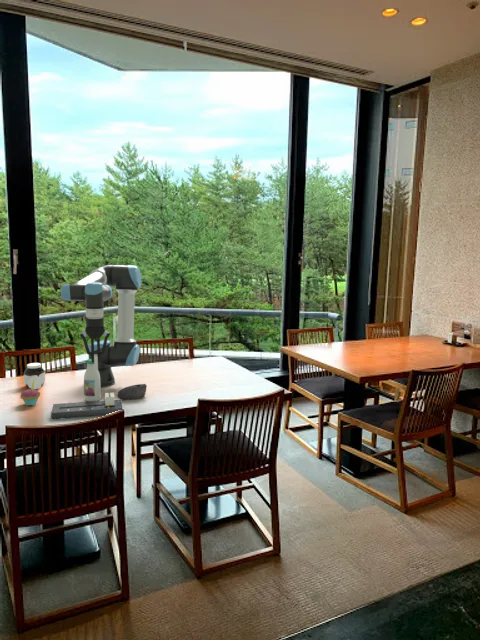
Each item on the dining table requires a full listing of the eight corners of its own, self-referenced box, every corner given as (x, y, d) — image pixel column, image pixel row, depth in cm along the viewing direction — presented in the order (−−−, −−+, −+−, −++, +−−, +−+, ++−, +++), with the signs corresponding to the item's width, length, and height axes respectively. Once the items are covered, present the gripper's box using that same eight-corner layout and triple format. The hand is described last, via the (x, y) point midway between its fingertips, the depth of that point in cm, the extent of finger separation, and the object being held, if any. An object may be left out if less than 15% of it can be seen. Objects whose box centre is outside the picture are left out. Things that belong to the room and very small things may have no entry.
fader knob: (105, 401, 222) (104, 392, 221) (114, 400, 223) (113, 392, 222) (105, 405, 216) (105, 396, 216) (114, 405, 217) (114, 396, 217)
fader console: (53, 410, 219) (53, 403, 218) (121, 405, 227) (121, 399, 227) (51, 419, 207) (51, 412, 207) (122, 414, 216) (122, 407, 216)
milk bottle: (94, 395, 240) (93, 357, 237) (104, 399, 236) (103, 359, 232) (81, 399, 234) (80, 359, 231) (90, 403, 230) (89, 362, 227)
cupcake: (43, 401, 230) (42, 377, 229) (36, 407, 222) (35, 382, 220) (25, 401, 230) (23, 377, 228) (17, 407, 222) (16, 382, 220)
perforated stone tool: (118, 402, 232) (118, 388, 231) (116, 399, 237) (116, 385, 236) (148, 398, 239) (148, 385, 237) (146, 395, 243) (146, 382, 242)
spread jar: (38, 382, 261) (37, 361, 259) (52, 385, 255) (51, 364, 254) (18, 387, 251) (17, 366, 249) (32, 391, 245) (31, 369, 243)
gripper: (79, 319, 206) (80, 372, 210) (110, 318, 210) (111, 370, 214) (79, 316, 213) (81, 367, 217) (109, 315, 217) (110, 366, 221)
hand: (96, 369), depth 216 cm, fingers closed
